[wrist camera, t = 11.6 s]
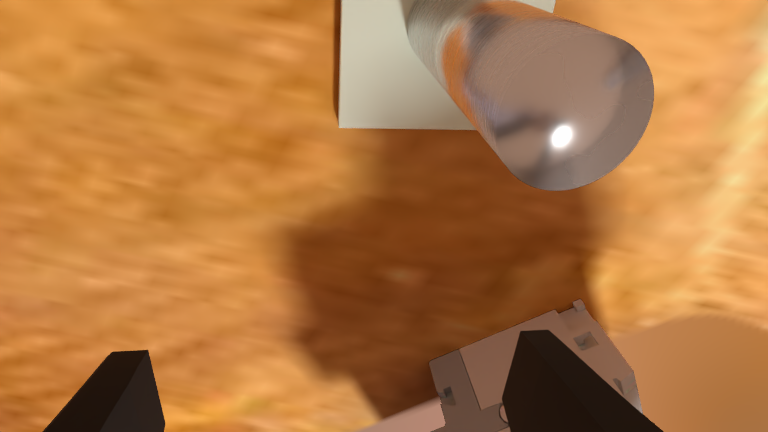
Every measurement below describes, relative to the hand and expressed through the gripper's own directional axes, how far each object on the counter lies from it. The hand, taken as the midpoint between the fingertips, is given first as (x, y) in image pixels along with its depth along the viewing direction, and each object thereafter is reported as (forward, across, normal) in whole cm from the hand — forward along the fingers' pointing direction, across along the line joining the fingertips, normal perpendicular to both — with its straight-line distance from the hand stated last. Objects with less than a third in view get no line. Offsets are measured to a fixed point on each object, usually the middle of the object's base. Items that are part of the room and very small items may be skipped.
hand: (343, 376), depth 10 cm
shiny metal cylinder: (+10, -4, -5) cm, 12 cm away
